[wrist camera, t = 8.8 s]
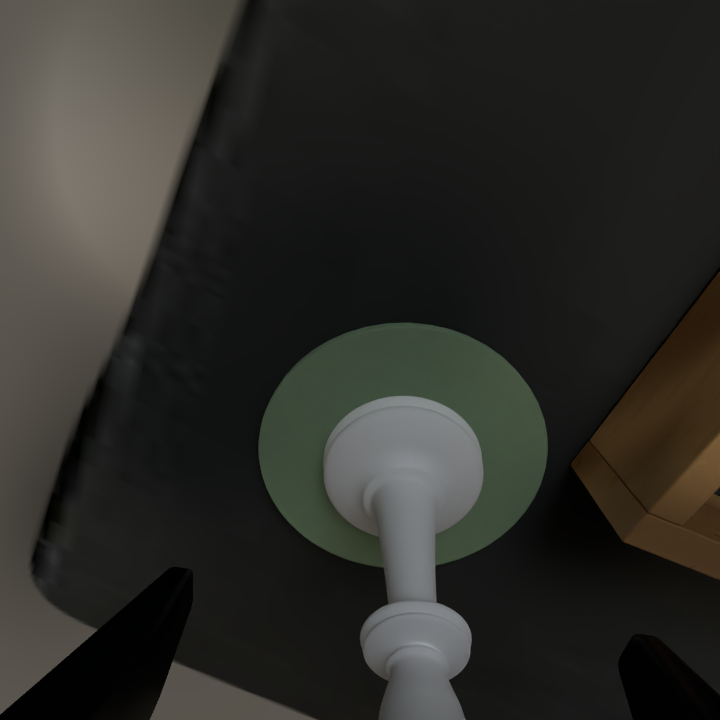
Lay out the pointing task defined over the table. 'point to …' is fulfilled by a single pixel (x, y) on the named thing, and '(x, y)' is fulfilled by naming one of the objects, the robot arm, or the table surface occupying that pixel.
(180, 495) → the table surface
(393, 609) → the chess piece
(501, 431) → the felt coaster
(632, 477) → the wooden frame
